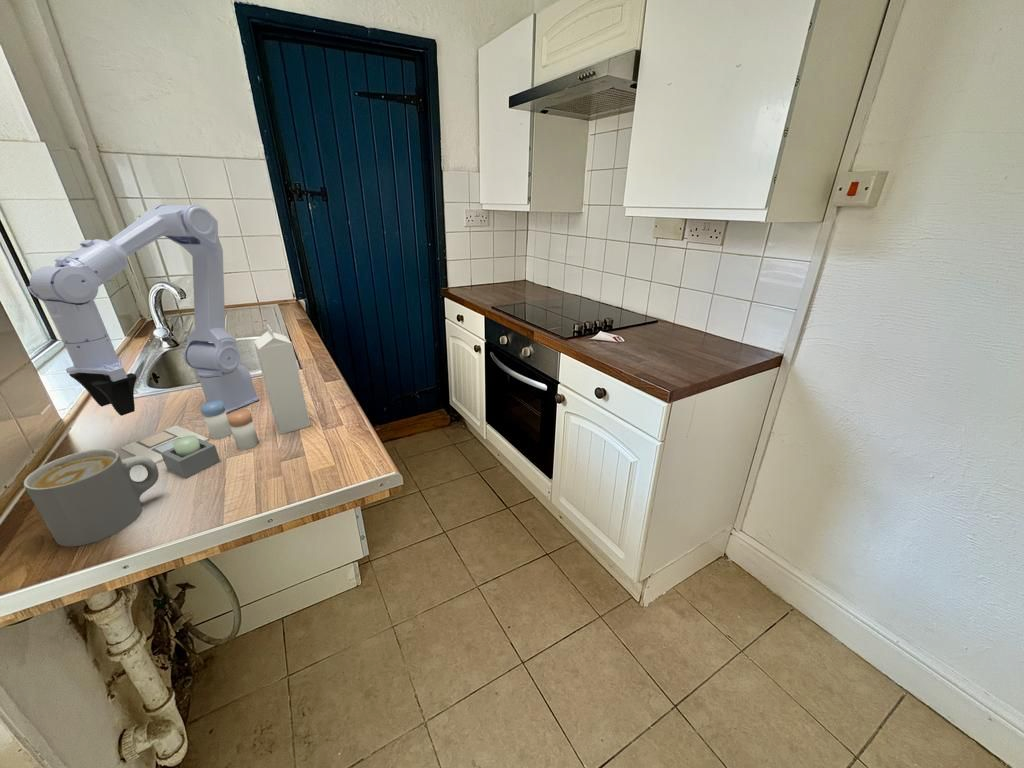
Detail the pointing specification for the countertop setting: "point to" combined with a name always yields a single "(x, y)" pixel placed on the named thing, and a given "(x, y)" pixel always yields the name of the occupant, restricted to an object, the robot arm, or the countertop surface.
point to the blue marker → (216, 419)
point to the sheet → (158, 443)
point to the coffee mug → (89, 494)
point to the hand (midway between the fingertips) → (117, 408)
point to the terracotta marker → (243, 429)
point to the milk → (282, 381)
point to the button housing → (191, 459)
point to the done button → (186, 445)
